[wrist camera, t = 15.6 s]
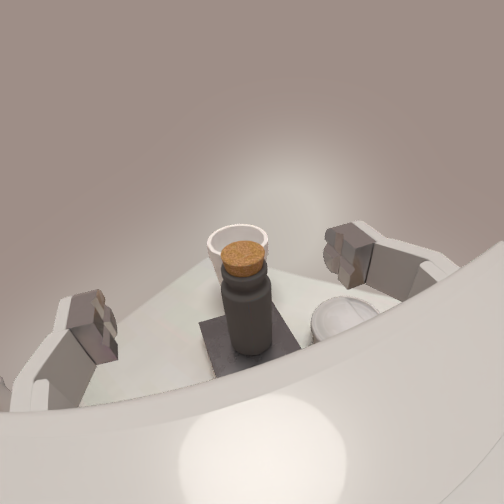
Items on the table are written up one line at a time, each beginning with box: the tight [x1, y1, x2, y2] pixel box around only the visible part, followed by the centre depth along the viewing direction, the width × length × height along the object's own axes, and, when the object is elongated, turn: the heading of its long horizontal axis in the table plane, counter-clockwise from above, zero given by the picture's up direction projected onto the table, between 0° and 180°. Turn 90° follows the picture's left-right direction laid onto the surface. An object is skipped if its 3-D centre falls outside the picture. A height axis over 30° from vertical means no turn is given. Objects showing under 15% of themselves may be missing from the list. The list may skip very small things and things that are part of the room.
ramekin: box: [311, 296, 380, 344], centre depth 39 cm, size 11×11×5 cm
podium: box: [199, 302, 301, 378], centre depth 39 cm, size 12×12×4 cm
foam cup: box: [207, 224, 268, 286], centre depth 47 cm, size 10×9×13 cm
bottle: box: [220, 241, 272, 356], centre depth 34 cm, size 6×6×15 cm
